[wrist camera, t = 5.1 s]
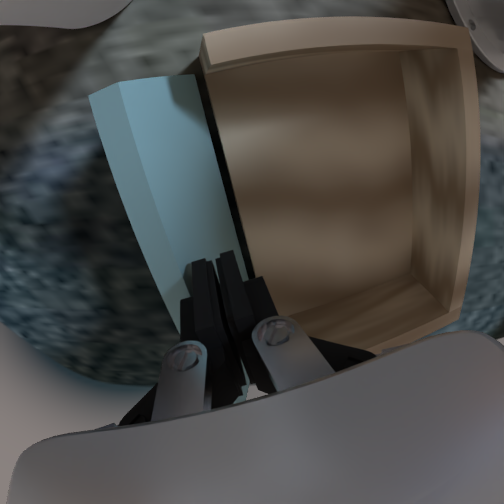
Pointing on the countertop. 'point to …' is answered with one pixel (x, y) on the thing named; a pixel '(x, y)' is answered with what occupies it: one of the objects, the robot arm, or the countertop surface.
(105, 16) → the cup
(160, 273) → the panel
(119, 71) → the countertop surface
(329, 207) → the crate
